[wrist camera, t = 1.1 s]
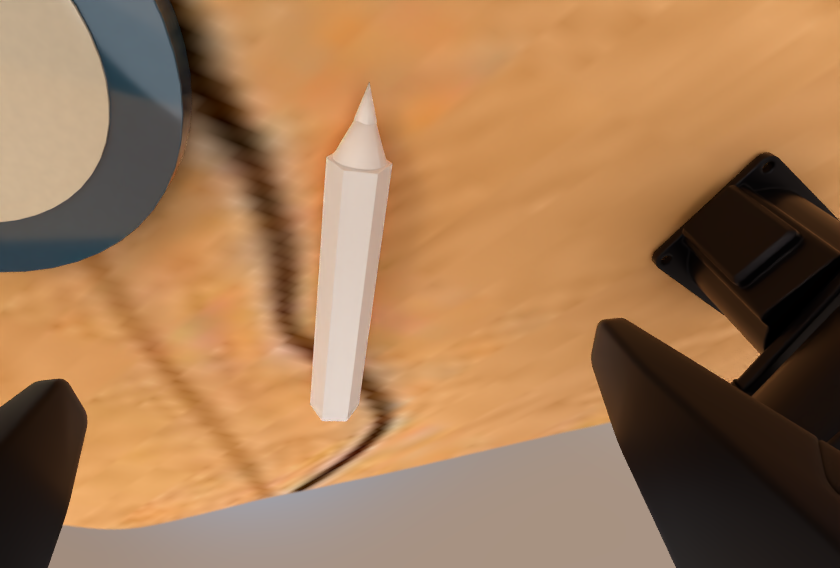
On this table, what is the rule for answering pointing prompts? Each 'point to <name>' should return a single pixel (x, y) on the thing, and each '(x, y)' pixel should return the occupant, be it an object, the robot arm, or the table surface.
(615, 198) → the table surface
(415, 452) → the table surface
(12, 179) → the plate
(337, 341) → the beige long bar
